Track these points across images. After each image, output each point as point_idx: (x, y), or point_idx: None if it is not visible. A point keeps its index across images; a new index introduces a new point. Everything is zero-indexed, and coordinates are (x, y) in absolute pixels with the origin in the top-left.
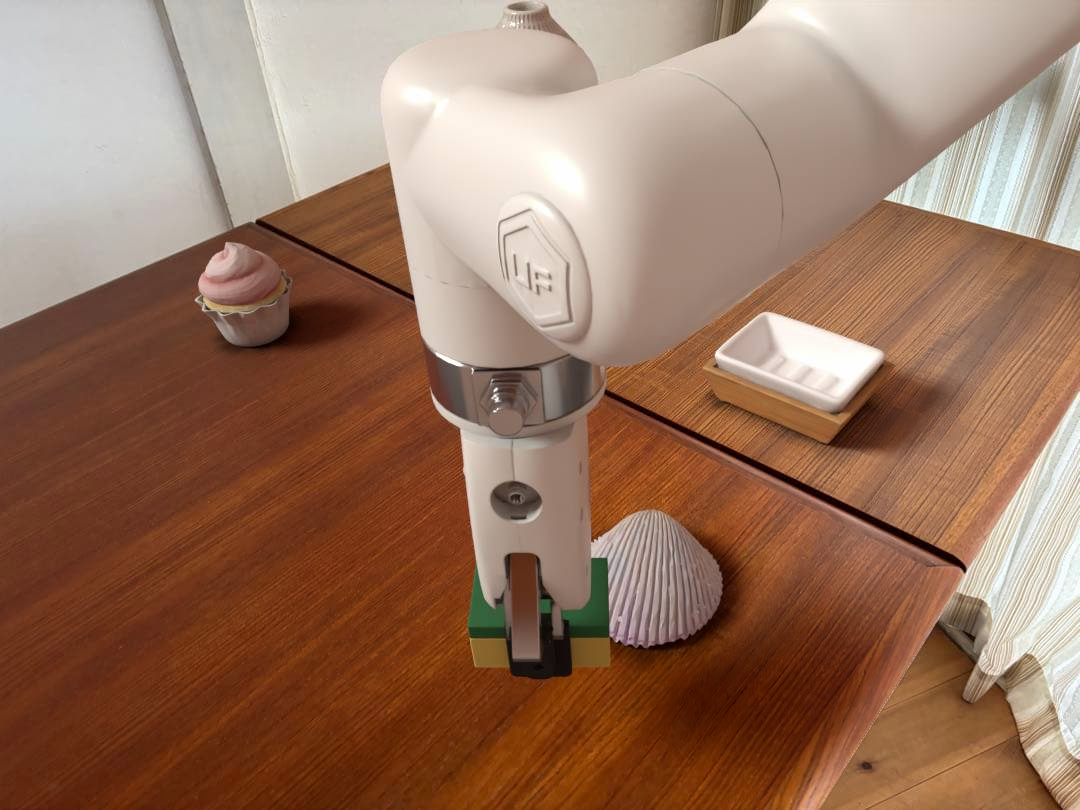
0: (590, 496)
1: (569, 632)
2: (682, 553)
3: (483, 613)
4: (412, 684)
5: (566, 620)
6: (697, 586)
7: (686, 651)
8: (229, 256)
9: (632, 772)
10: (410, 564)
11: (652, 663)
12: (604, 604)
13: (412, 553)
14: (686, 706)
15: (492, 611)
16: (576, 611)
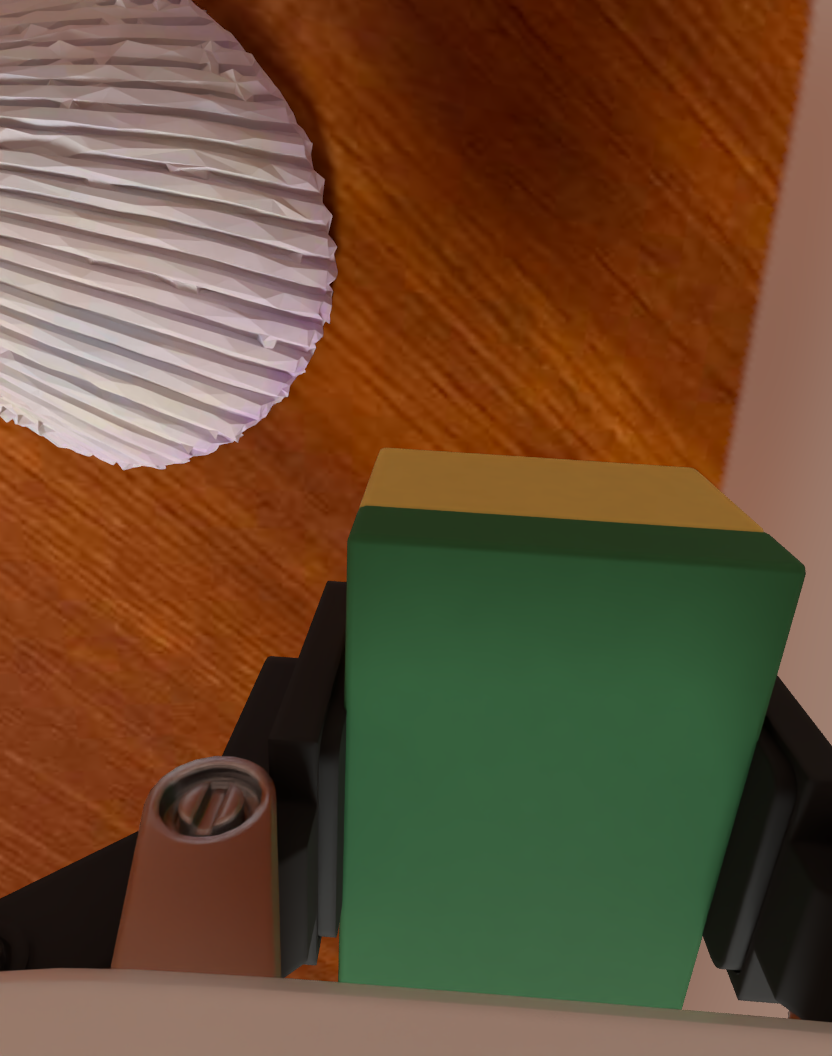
0: (162, 1024)
1: (812, 742)
2: (19, 88)
3: None
4: None
5: (806, 787)
6: (144, 54)
7: (342, 140)
8: None
9: (680, 340)
10: (102, 810)
11: (380, 251)
12: (666, 577)
13: (69, 809)
14: (519, 169)
15: (616, 980)
16: (688, 703)
